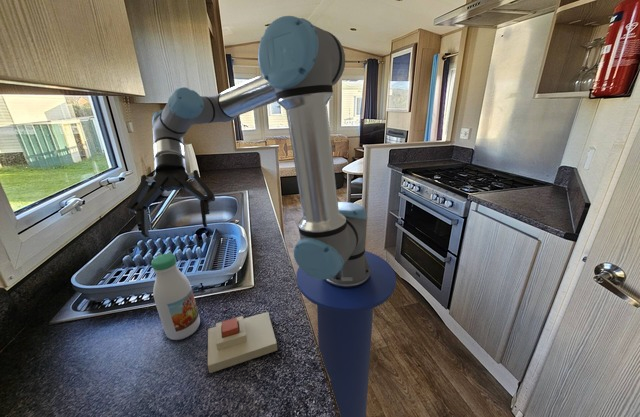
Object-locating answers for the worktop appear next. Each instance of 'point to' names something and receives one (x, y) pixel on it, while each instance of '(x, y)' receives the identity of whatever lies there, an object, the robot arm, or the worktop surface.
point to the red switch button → (229, 327)
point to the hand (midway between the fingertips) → (176, 230)
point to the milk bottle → (174, 298)
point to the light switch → (240, 342)
